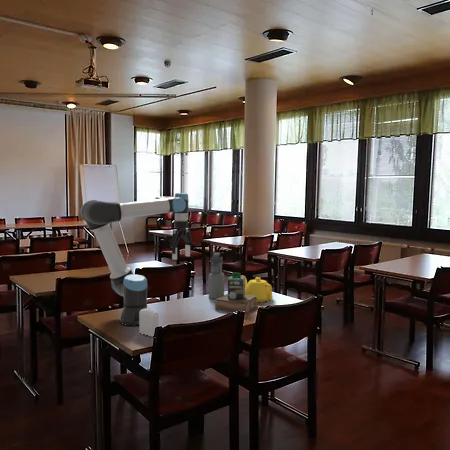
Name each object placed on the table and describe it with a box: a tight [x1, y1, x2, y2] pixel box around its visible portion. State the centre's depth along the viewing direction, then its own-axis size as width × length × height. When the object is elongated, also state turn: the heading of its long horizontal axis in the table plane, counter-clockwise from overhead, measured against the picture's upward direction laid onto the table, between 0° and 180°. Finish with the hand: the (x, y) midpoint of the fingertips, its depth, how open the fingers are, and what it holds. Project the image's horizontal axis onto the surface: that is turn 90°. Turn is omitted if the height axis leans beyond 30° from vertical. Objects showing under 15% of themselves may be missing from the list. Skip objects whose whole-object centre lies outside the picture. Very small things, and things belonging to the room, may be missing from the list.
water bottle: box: [208, 252, 225, 300], centre depth 285 cm, size 10×10×28 cm
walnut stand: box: [214, 293, 258, 313], centre depth 263 cm, size 18×18×6 cm
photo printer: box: [138, 307, 160, 338], centre depth 214 cm, size 10×4×12 cm, turn 54°
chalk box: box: [227, 272, 246, 300], centre depth 262 cm, size 9×9×15 cm
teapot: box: [241, 274, 273, 303], centre depth 284 cm, size 25×18×14 cm
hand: (181, 257), depth 260 cm, fingers open, 13 cm apart
